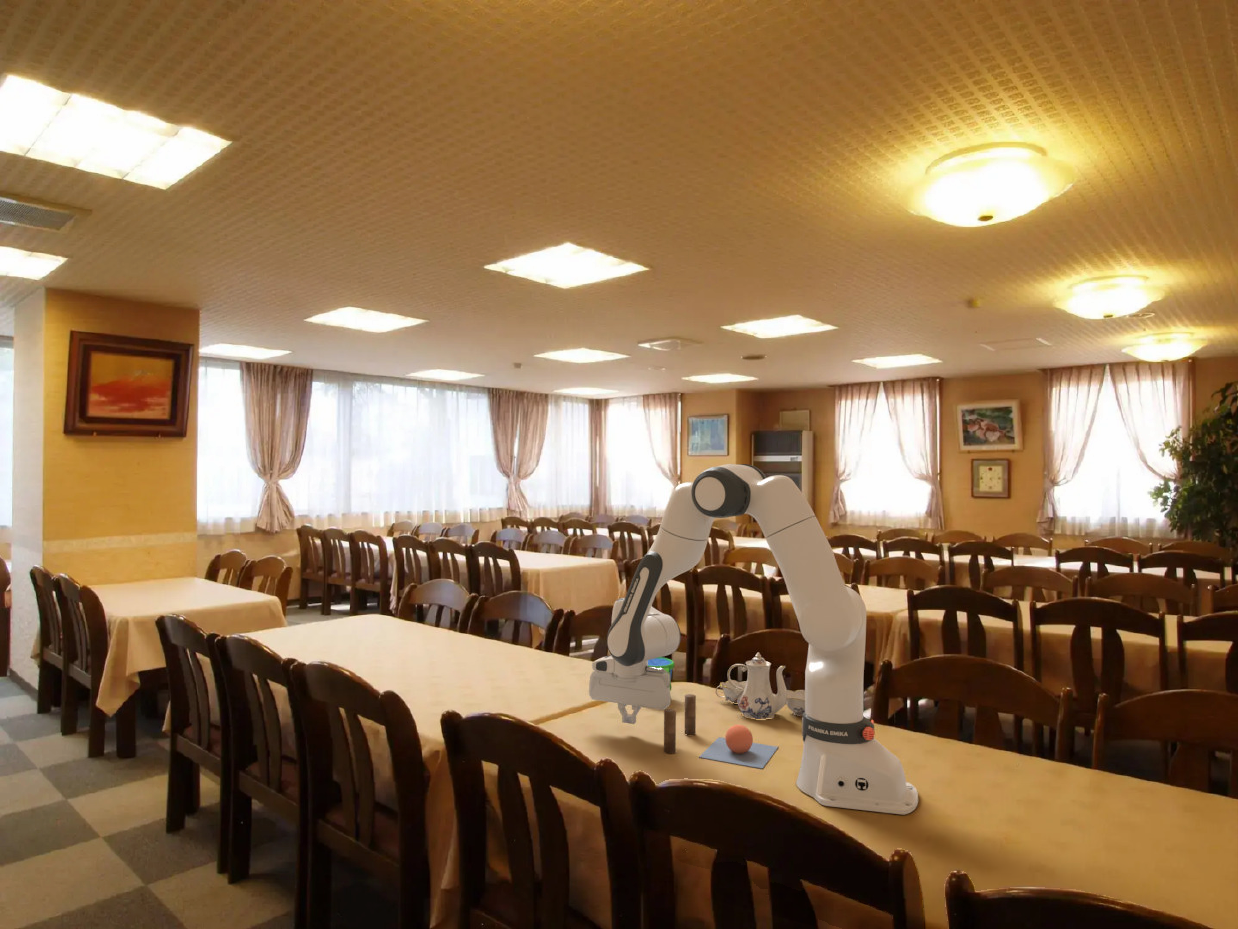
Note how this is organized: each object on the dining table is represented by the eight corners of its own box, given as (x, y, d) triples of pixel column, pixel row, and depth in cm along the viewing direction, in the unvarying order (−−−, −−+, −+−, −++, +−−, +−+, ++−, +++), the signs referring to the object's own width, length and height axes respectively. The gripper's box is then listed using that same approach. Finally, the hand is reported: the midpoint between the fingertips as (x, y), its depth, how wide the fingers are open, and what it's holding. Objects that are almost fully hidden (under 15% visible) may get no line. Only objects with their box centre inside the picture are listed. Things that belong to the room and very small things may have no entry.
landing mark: (778, 747, 166) (778, 746, 166) (762, 769, 153) (762, 768, 153) (718, 738, 172) (718, 737, 172) (698, 757, 159) (698, 757, 159)
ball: (733, 717, 166) (727, 742, 167) (725, 725, 161) (719, 751, 161) (758, 727, 164) (752, 752, 164) (751, 735, 158) (745, 761, 159)
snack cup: (682, 704, 198) (683, 666, 198) (646, 707, 195) (646, 669, 195) (662, 689, 213) (662, 653, 213) (628, 691, 210) (628, 655, 210)
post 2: (697, 733, 175) (697, 695, 175) (693, 736, 173) (693, 698, 173) (686, 731, 176) (687, 693, 177) (683, 734, 174) (683, 696, 174)
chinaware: (822, 718, 193) (823, 653, 195) (809, 730, 178) (811, 660, 180) (719, 703, 205) (722, 643, 207) (700, 713, 190) (702, 648, 192)
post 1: (677, 750, 163) (677, 710, 164) (673, 754, 161) (673, 713, 161) (666, 749, 164) (666, 708, 165) (662, 752, 162) (662, 711, 162)
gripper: (675, 666, 173) (674, 725, 173) (598, 656, 182) (597, 713, 182) (665, 672, 167) (664, 733, 167) (586, 662, 176) (585, 720, 176)
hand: (629, 722), depth 174 cm, fingers closed
